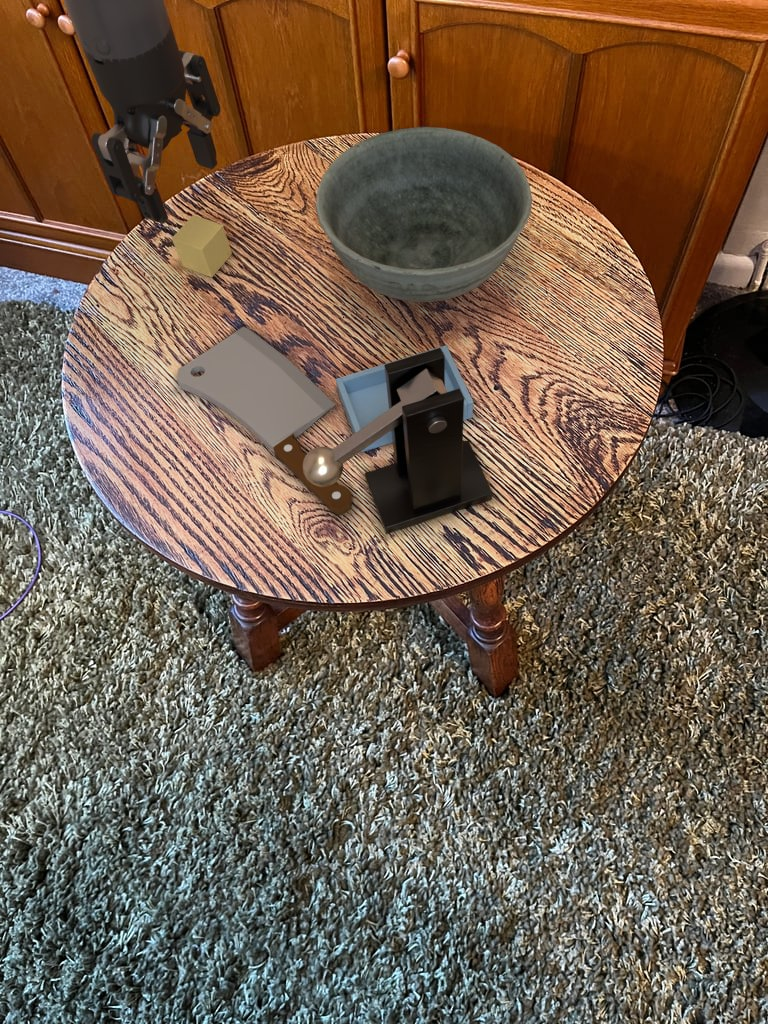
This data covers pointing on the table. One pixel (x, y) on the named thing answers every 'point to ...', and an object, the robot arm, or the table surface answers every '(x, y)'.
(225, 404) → the kitchen cleaver
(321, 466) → the cutter lever
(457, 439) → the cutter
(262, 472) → the table surface
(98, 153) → the robot arm
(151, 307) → the table surface
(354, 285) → the table surface
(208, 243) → the butter pat
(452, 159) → the bowl
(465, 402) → the butter dish
